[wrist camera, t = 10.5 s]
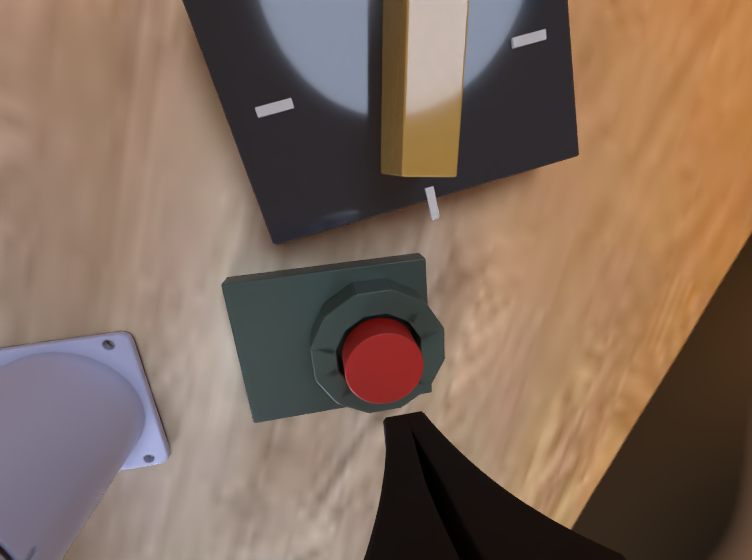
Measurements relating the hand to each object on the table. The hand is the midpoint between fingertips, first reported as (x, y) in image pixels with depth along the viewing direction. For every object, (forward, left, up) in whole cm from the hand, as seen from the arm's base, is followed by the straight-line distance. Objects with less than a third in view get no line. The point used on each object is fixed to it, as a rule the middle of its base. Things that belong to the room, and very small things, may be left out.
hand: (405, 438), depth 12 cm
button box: (-2, 0, -9) cm, 9 cm away
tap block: (+2, +12, -9) cm, 15 cm away
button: (0, 0, -6) cm, 6 cm away
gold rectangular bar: (+2, +12, -6) cm, 13 cm away
